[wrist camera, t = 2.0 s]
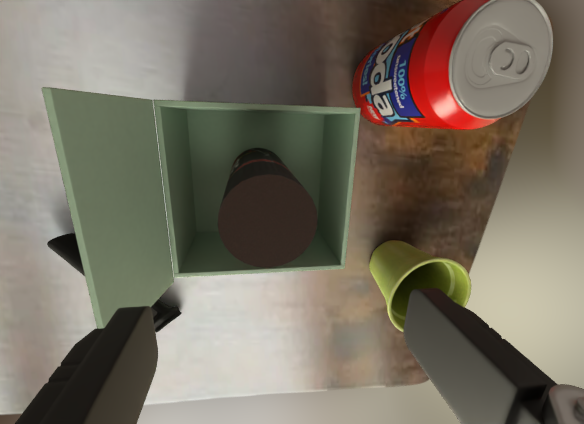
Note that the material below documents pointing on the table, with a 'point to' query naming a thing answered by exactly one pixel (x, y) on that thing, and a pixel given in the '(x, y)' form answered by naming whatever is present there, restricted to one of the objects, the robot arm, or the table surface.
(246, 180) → the deodorant
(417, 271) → the plant pot
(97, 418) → the robot arm
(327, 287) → the table surface
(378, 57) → the soda can
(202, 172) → the carton
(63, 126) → the flap
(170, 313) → the electric trimmer
